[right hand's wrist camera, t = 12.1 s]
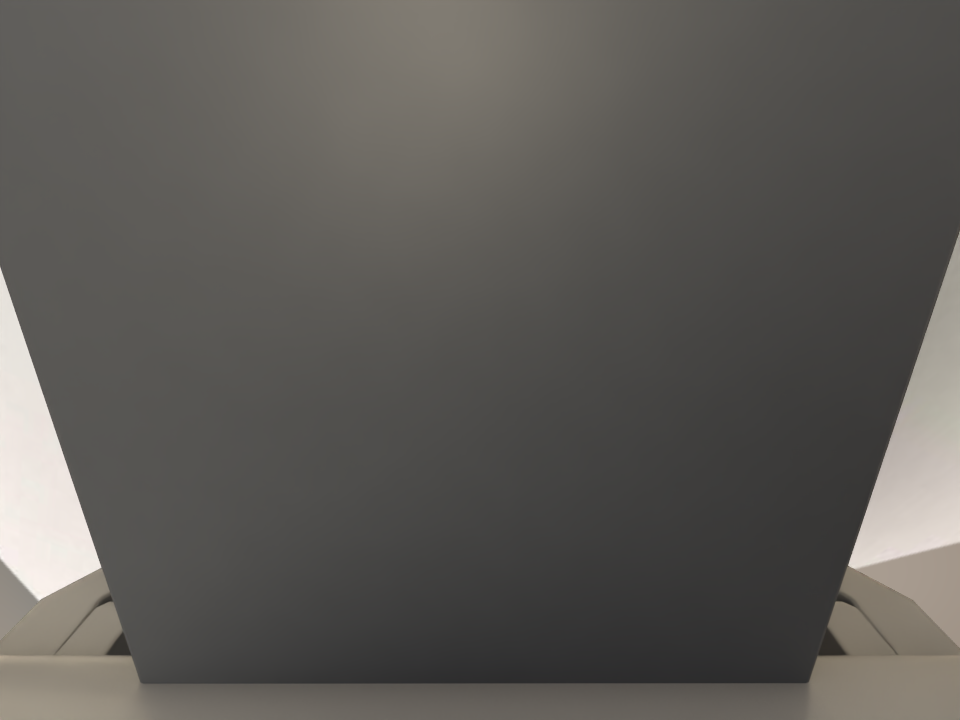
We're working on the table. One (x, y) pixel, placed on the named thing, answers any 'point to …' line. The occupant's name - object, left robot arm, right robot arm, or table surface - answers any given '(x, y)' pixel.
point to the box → (476, 320)
